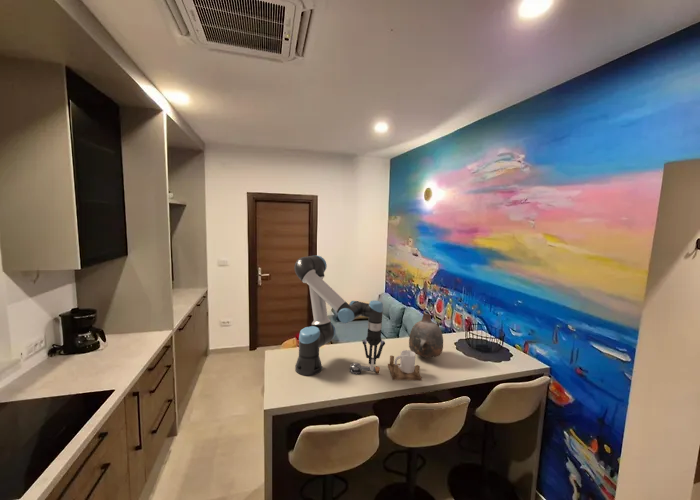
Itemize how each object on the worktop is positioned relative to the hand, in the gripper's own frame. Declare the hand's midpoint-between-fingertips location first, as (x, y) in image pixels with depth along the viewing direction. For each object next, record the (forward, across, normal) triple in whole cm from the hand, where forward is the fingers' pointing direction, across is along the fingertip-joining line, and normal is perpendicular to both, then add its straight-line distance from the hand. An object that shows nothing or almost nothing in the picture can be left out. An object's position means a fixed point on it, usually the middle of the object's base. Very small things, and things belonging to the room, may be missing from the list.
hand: (371, 369), depth 171 cm
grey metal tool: (+3, -3, +3) cm, 6 cm away
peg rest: (+3, +19, +4) cm, 20 cm away
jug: (+3, +38, +25) cm, 46 cm away
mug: (+2, +19, +4) cm, 20 cm away
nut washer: (+4, -9, +5) cm, 11 cm away
